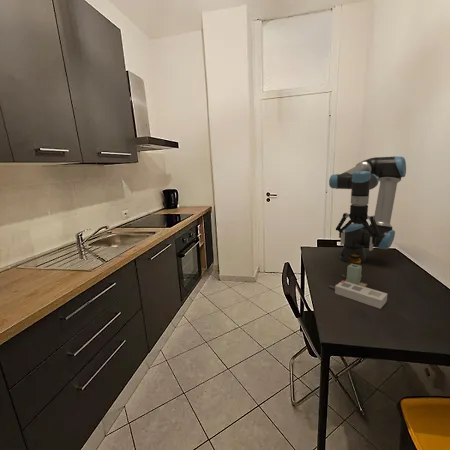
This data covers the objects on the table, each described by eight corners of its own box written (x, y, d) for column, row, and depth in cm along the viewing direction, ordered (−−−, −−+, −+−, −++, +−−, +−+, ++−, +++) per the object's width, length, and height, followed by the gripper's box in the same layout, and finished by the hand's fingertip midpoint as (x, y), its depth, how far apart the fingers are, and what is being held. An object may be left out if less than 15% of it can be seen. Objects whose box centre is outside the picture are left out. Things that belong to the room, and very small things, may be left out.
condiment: (362, 276, 143) (364, 255, 140) (354, 280, 139) (355, 259, 136) (350, 271, 149) (351, 252, 146) (341, 275, 145) (342, 255, 142)
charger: (350, 281, 136) (351, 263, 134) (360, 284, 133) (361, 265, 130) (346, 284, 133) (347, 266, 131) (356, 287, 130) (357, 268, 127)
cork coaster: (347, 279, 140) (347, 278, 140) (367, 285, 133) (367, 284, 133) (339, 285, 134) (339, 284, 133) (359, 292, 126) (359, 291, 126)
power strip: (325, 290, 130) (325, 282, 129) (332, 284, 135) (332, 277, 134) (380, 308, 112) (381, 299, 111) (386, 301, 117) (387, 293, 116)
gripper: (330, 203, 130) (328, 244, 135) (386, 208, 112) (381, 254, 117) (336, 201, 135) (334, 240, 140) (391, 205, 117) (387, 250, 122)
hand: (356, 247), depth 128 cm, fingers open, 13 cm apart
